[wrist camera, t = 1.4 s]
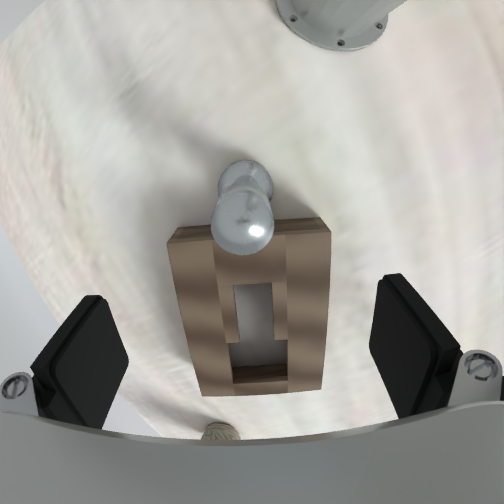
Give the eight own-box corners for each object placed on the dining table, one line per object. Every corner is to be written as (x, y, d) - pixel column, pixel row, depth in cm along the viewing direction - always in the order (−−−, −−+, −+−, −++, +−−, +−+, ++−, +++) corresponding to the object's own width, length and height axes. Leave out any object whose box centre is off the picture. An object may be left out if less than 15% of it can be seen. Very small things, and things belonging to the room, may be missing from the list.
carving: (206, 416, 47) (199, 473, 35) (247, 426, 48) (246, 483, 37) (196, 432, 49) (189, 485, 38) (234, 442, 50) (232, 494, 39)
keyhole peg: (217, 162, 31) (192, 185, 18) (270, 158, 31) (284, 178, 18) (222, 213, 33) (204, 268, 20) (273, 209, 33) (288, 263, 20)
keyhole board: (177, 227, 34) (166, 243, 29) (320, 217, 33) (331, 231, 29) (205, 371, 42) (202, 396, 38) (315, 364, 42) (321, 389, 37)
